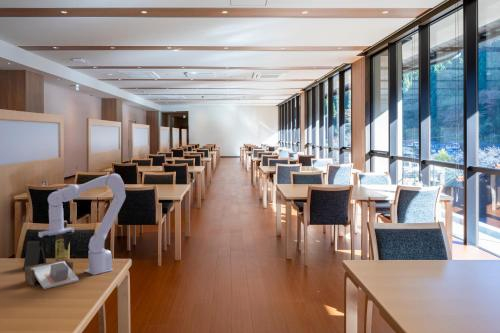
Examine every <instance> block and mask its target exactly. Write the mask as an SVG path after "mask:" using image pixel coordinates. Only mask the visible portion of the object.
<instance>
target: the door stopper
mask: <svg viewBox="0 0 500 333" xmlns="http://www.w3.org/2000/svg"><path fill="white" fill-rule="evenodd" d="M25 250H26V251H25V257H24V263H23V270H24V271H25V267H29V266H34V265H39V264H44V263H47V259H46V257H45V252H44V251H45V250H44V248H43V241H42V240H41V241H40V240H29V241H27V242H26V249H25Z"/></svg>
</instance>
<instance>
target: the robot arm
mask: <svg viewBox="0 0 500 333" xmlns="http://www.w3.org/2000/svg"><path fill="white" fill-rule="evenodd" d="M97 187H103V188H107V187H108V188H109V189H110V190H111V192H112V194H113V196H114V197H113V199H112V201H111V203H110V204H109V206H108V209H107V211H106V213H105V215H103V216H104V217H103V218H102V221H101V223H100V225H99V226H98V228H97V230H96V232H95V234H93V235H92V236H91V237H90V239H89V243H88V249H89V250H88V252H87V253H88V256H87V257H88V269H86V270H84V271H85V272H86V273H88V274H90V275H93V276H94V275H98V274H104V273H108V272H113V271H114V269H113V257H112V256H113V255H112V253H111V251H110V250H109V249H105V240H106V238H107V236H108V235H109V234H108V233H109V231H111V230H110V229H111V228H112V226H113V224H114V221H115V220H116V218H117V216H118V214H119V212H120V210H121V208H122V206H123V204H124V202H125V200H126V197H127V194H126V189H125V183H124V180H123V179H122V177H121V175H120V174H118V173H111V174H106V175H103V176H98V177H96V178H95V179H92V180H89V181H88V182H87V181H86V182H84V183H82V184H80V185H78V184H76V183H75V184H71V183H70V184H68V186H67V187H64V188H62V189H60V188H58V189H57V190H56V191H53V192H51V193H50V194H49V195H48V197H47V203H48V221H49V222H48V224H49V226H48V227H49V229H47V230H42V231H38V237H39V238H40V240H41V241H42V244H43V245H44V247H45V252H46V253H47V254H50V253H51V239H52V238H51V237H50V236H56V234H63V237H64V249H65V250H68V246H69V243H71V240H72V238H73V236H74V232H75V227H71V226H70V227H67V228H64V221H65V220H64V208H63V205H64V204H63V202H64V203H67V202H69V201H71V200H74V199H76V198H80V197H81V195H82V193H84V192H86V191H90V190H93V189H95V188H97Z"/></svg>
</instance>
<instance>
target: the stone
mask: <svg viewBox="0 0 500 333" xmlns="http://www.w3.org/2000/svg"><path fill="white" fill-rule="evenodd" d="M68 270H69V269H68V268H67V266H66V265H65V264H64V263H58V264H53V265H51V269H50V277H51V278H52V279H53V281H54V282H58V281H62V280H66V279H67V276H68Z"/></svg>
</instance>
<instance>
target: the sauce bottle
mask: <svg viewBox="0 0 500 333" xmlns="http://www.w3.org/2000/svg"><path fill="white" fill-rule="evenodd" d="M64 228H68V221H67V220H64ZM70 243H71V242H70ZM70 243H69V246H68V250H65V249H64V237H63V234H56V235H55V245H54V246H55V255H54V256H55V258H54V259H55V261H59V260H64V259H65V260H68V261H70V253H71V252H70V249H71V248H70Z"/></svg>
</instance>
